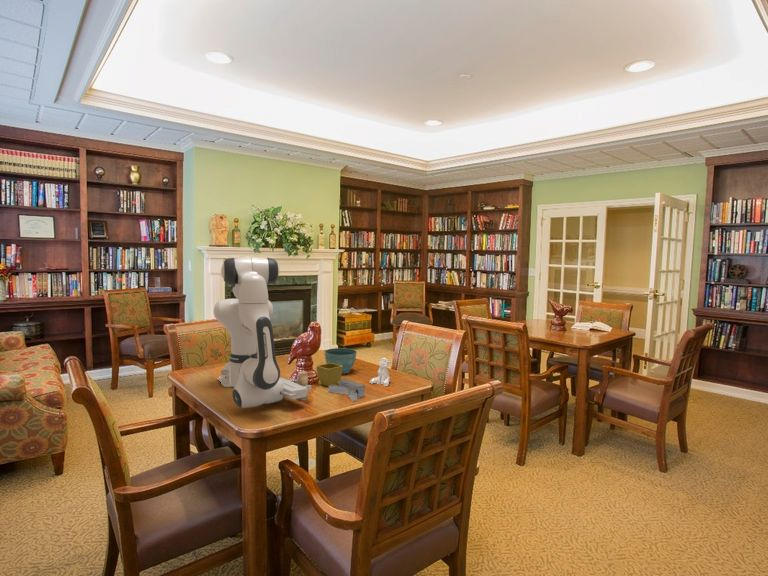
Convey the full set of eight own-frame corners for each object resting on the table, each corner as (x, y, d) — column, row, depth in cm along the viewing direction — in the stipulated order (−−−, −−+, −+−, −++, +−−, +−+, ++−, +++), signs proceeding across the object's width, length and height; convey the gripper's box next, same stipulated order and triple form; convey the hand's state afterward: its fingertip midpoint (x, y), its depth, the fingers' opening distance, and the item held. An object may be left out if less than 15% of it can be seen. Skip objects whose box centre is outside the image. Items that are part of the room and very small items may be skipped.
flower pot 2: (328, 388, 208) (328, 369, 207) (315, 384, 214) (316, 365, 213) (342, 385, 214) (343, 365, 214) (330, 381, 220) (330, 362, 220)
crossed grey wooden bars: (326, 391, 203) (327, 380, 203) (341, 388, 209) (342, 377, 209) (353, 401, 190) (353, 389, 190) (368, 398, 196) (368, 386, 196)
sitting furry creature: (368, 384, 217) (369, 358, 217) (377, 379, 225) (378, 355, 224) (386, 387, 213) (387, 361, 212) (395, 382, 221) (395, 357, 220)
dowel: (295, 398, 193) (296, 372, 192) (304, 397, 195) (304, 371, 195) (301, 401, 190) (301, 374, 189) (309, 399, 192) (309, 373, 192)
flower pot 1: (362, 372, 238) (363, 351, 237) (339, 378, 226) (339, 356, 225) (341, 366, 249) (341, 346, 248) (317, 372, 237) (318, 351, 236)
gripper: (288, 388, 175) (318, 382, 185) (261, 377, 190) (290, 372, 200) (288, 405, 176) (318, 398, 185) (261, 392, 191) (290, 386, 200)
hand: (304, 384), depth 193 cm, fingers open, 8 cm apart
